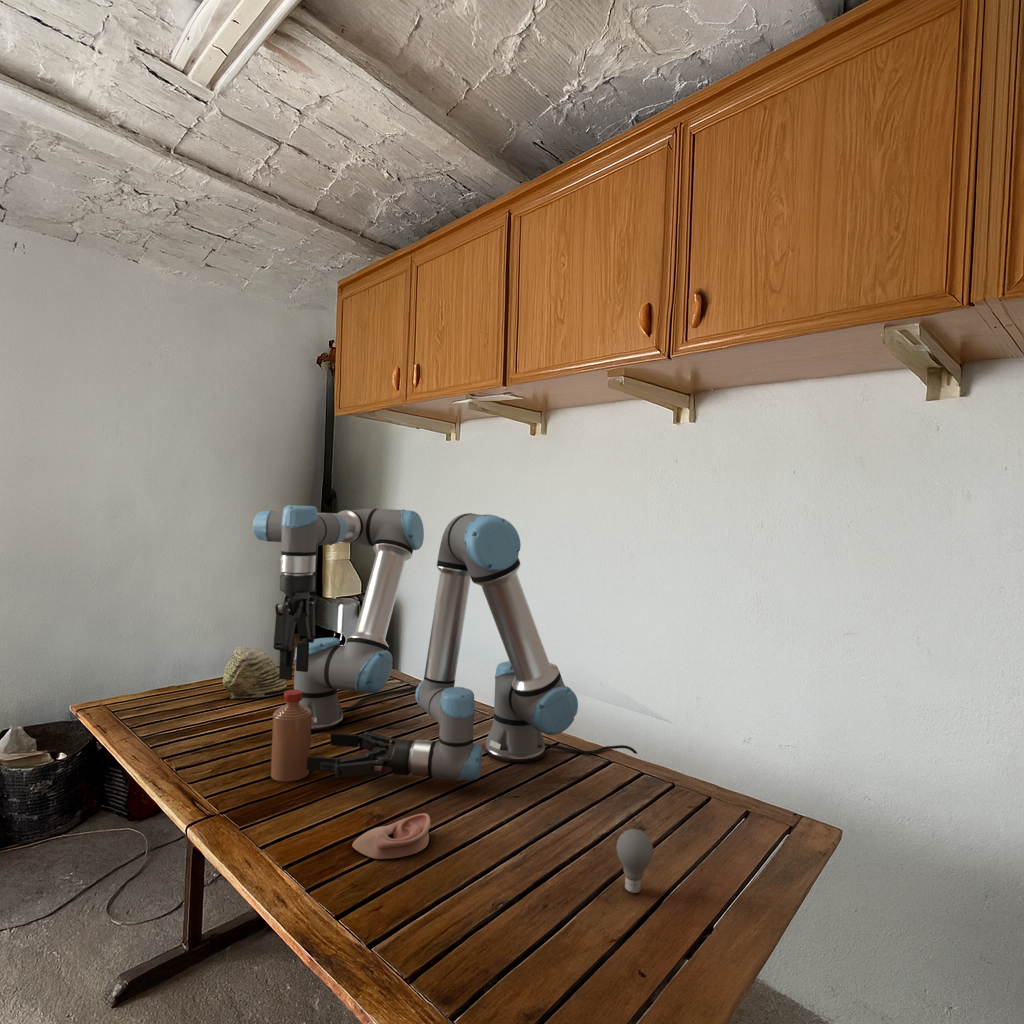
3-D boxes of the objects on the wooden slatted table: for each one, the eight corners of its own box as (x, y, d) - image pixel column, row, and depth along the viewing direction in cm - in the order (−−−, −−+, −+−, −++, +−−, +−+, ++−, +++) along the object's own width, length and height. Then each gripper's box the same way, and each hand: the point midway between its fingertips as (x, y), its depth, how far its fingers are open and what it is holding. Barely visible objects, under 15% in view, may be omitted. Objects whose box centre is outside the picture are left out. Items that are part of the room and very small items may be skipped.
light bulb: (610, 879, 108) (613, 822, 108) (644, 879, 109) (647, 822, 109) (619, 902, 102) (622, 840, 102) (655, 901, 103) (658, 840, 103)
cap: (284, 703, 141) (284, 695, 141) (283, 697, 145) (283, 690, 145) (303, 701, 143) (303, 693, 143) (301, 696, 146) (301, 688, 146)
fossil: (218, 695, 195) (220, 647, 195) (278, 685, 208) (279, 640, 207) (228, 703, 189) (230, 653, 188) (289, 692, 201) (290, 645, 201)
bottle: (271, 783, 139) (274, 701, 138) (269, 768, 146) (272, 689, 146) (311, 778, 142) (314, 697, 142) (307, 763, 150) (310, 687, 149)
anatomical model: (345, 832, 112) (372, 802, 124) (344, 854, 113) (371, 822, 124) (415, 843, 110) (436, 812, 121) (414, 866, 110) (436, 832, 121)
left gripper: (304, 568, 153) (301, 663, 154) (257, 577, 135) (253, 685, 135) (333, 570, 152) (329, 666, 152) (289, 579, 133) (285, 688, 134)
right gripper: (396, 800, 129) (295, 791, 130) (424, 752, 153) (339, 745, 155) (398, 763, 128) (297, 755, 130) (425, 721, 153) (340, 715, 155)
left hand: (293, 674), depth 144 cm, fingers open, 6 cm apart
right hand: (319, 750), depth 143 cm, fingers open, 13 cm apart
